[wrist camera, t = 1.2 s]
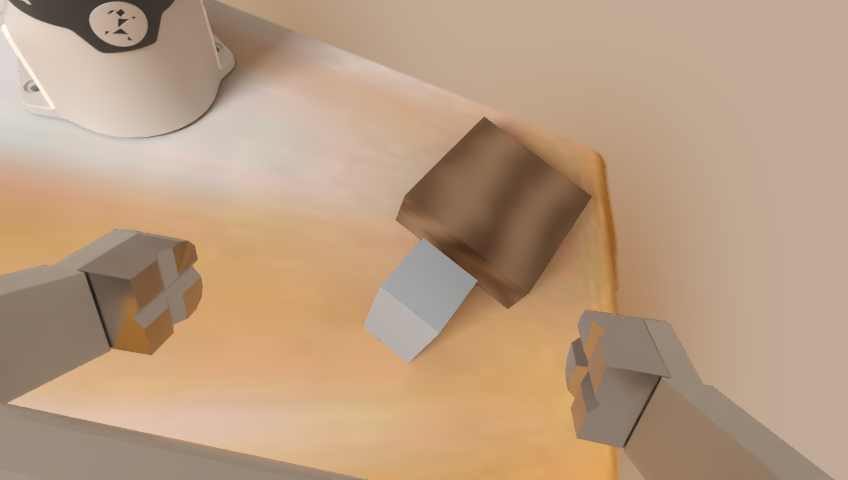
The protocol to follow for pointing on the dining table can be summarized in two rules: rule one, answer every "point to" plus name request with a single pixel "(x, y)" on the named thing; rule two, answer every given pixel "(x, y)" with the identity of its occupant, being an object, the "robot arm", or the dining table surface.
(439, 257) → the slate block
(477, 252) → the walnut block
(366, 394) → the dining table surface
